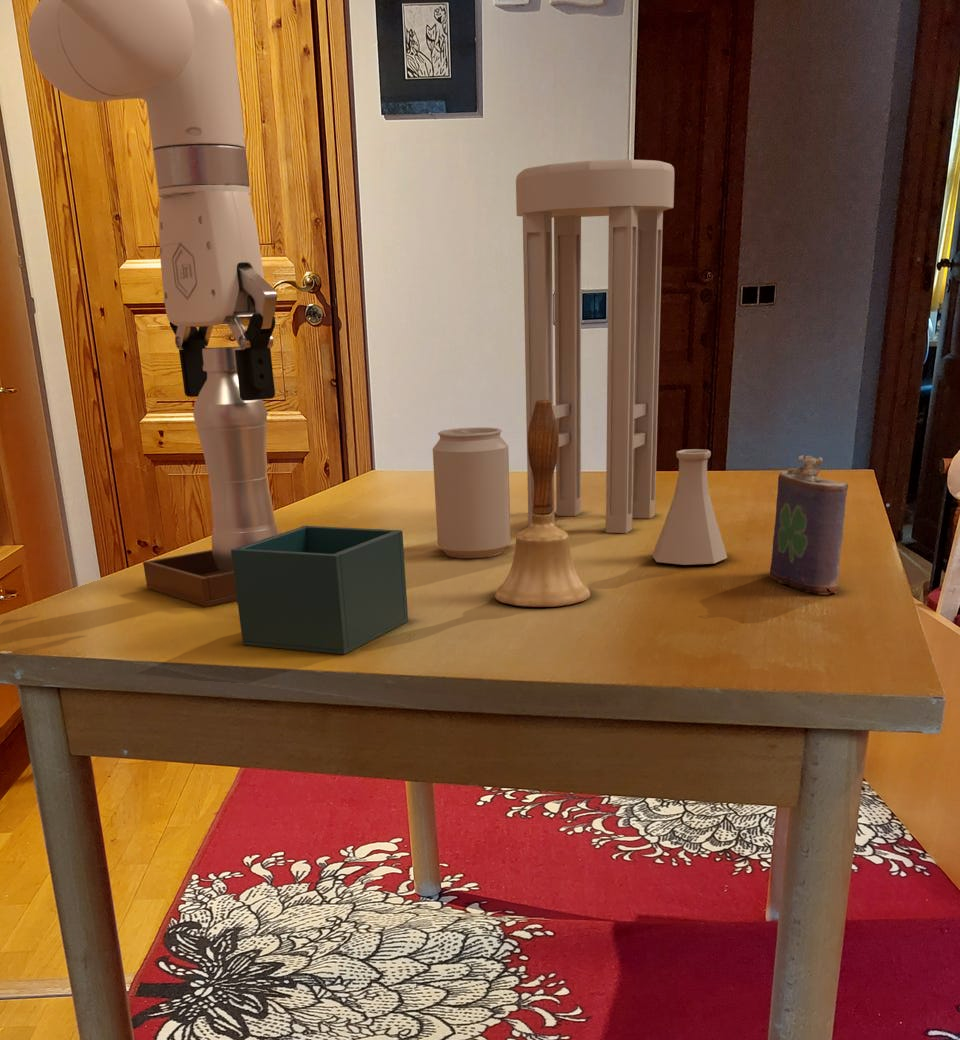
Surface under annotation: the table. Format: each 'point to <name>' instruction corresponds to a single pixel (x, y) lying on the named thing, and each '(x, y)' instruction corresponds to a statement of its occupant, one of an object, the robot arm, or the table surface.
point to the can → (472, 492)
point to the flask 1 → (691, 517)
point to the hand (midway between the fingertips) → (229, 397)
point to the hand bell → (542, 531)
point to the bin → (321, 588)
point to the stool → (631, 320)
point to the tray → (191, 579)
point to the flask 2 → (808, 529)
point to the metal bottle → (233, 458)
